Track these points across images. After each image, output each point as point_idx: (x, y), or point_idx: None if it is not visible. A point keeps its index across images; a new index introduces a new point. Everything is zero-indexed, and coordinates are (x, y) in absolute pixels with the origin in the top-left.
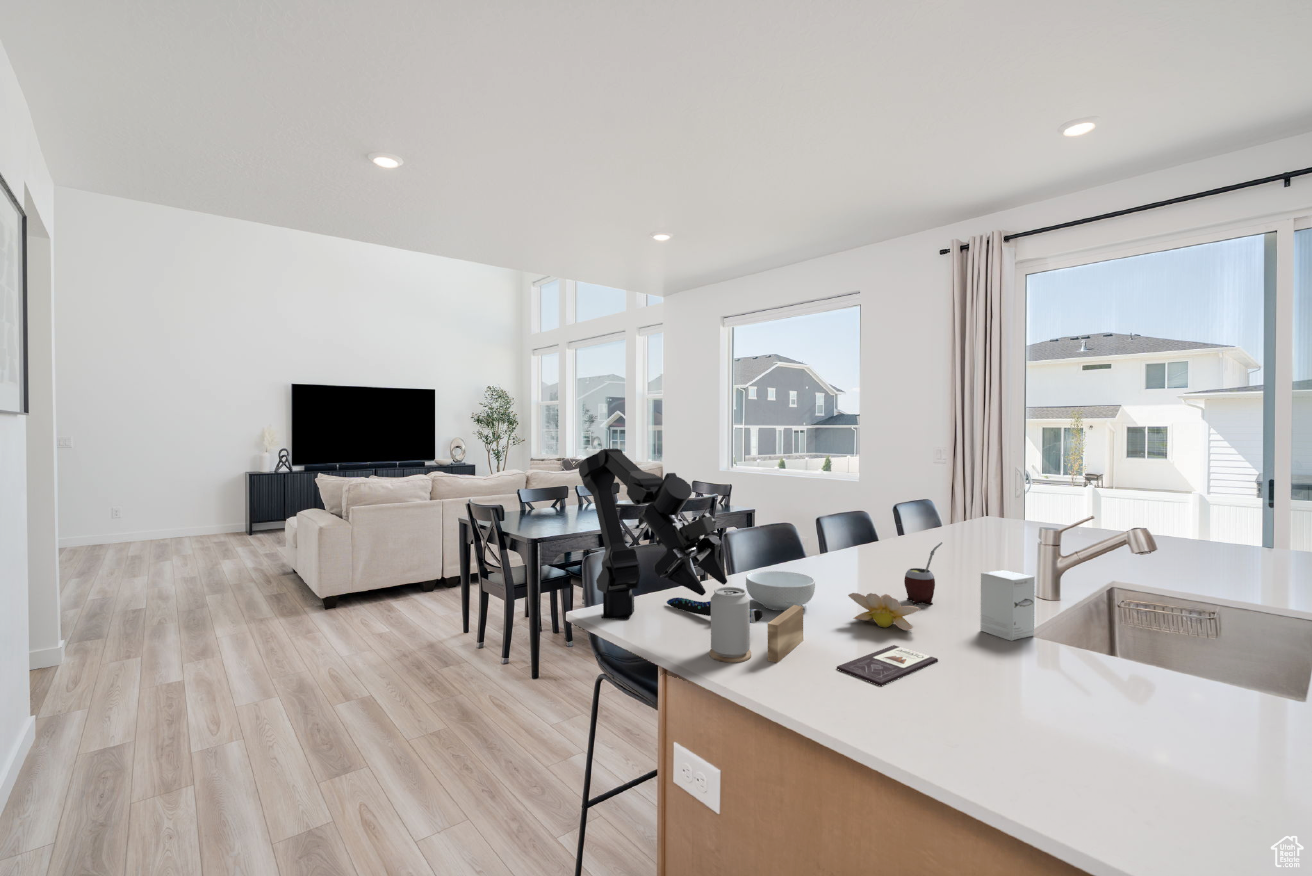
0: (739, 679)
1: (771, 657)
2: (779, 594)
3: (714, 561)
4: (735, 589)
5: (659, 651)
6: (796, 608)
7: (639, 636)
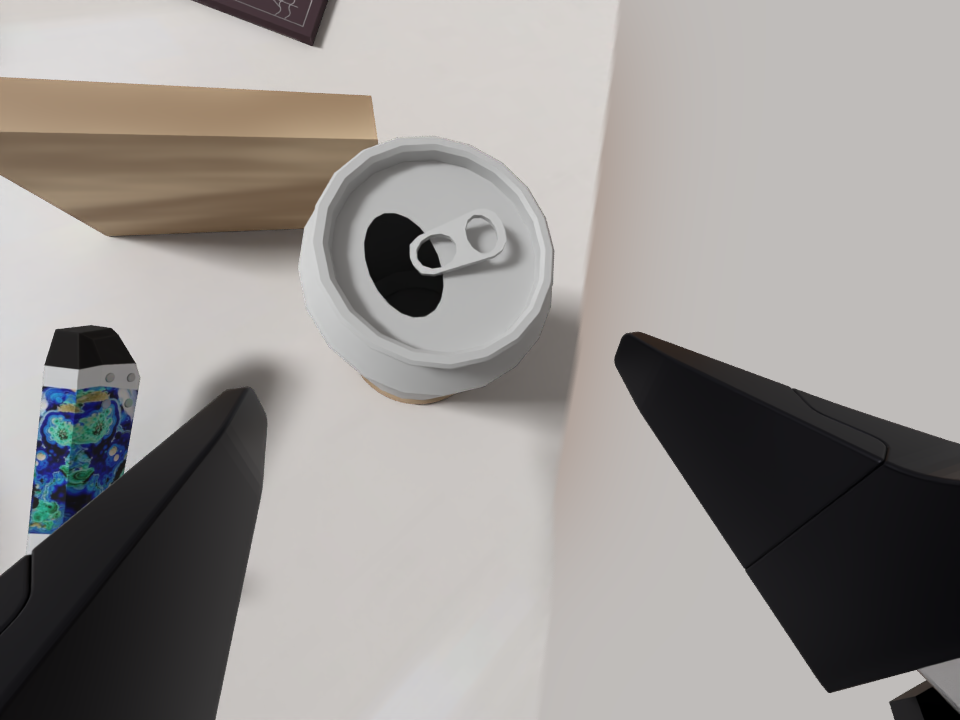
0: None
1: None
2: None
3: (45, 710)
4: (334, 262)
5: (544, 525)
6: (6, 95)
7: (488, 700)
